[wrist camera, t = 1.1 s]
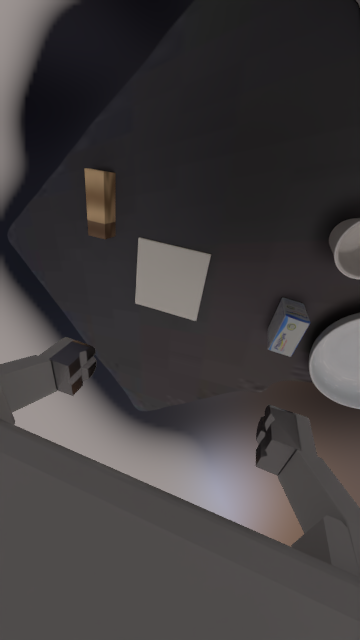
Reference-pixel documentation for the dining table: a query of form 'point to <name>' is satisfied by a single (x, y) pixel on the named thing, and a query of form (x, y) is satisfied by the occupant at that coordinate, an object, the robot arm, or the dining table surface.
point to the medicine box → (287, 327)
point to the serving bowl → (338, 361)
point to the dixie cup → (347, 247)
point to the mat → (170, 278)
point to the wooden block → (100, 203)
